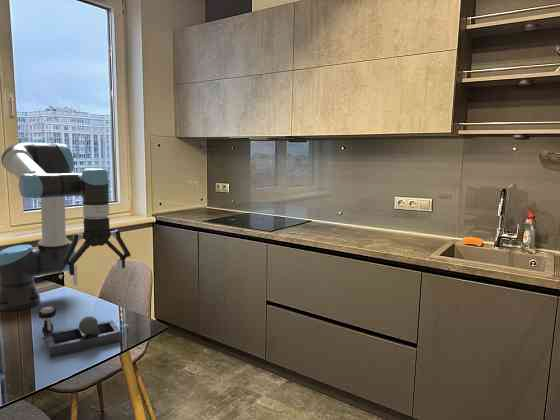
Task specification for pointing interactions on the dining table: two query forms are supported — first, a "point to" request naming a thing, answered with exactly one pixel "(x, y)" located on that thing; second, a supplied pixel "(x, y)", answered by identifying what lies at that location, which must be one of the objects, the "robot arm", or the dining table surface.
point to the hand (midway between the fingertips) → (98, 281)
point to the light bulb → (89, 326)
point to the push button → (47, 319)
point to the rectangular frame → (81, 339)
